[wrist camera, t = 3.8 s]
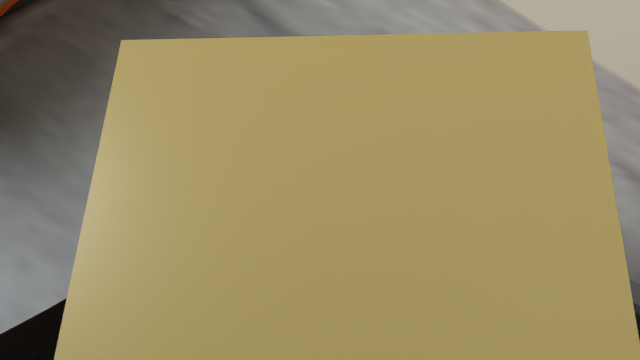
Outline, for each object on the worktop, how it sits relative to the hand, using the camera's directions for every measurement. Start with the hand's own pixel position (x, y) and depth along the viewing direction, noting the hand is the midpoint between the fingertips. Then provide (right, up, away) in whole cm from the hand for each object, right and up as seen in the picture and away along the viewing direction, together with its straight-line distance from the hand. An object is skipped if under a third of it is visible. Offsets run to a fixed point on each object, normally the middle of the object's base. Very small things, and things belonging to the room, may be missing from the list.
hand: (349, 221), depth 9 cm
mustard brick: (+1, -3, +6) cm, 7 cm away
